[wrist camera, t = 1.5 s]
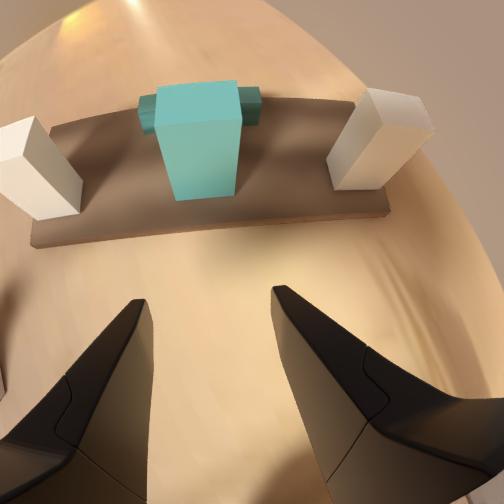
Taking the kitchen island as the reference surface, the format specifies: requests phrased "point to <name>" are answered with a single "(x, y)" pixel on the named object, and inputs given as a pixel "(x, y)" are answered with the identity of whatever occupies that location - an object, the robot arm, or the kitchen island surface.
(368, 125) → the grey key
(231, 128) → the teal key
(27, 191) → the grey key
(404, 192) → the kitchen island surface
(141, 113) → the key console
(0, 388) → the flask
